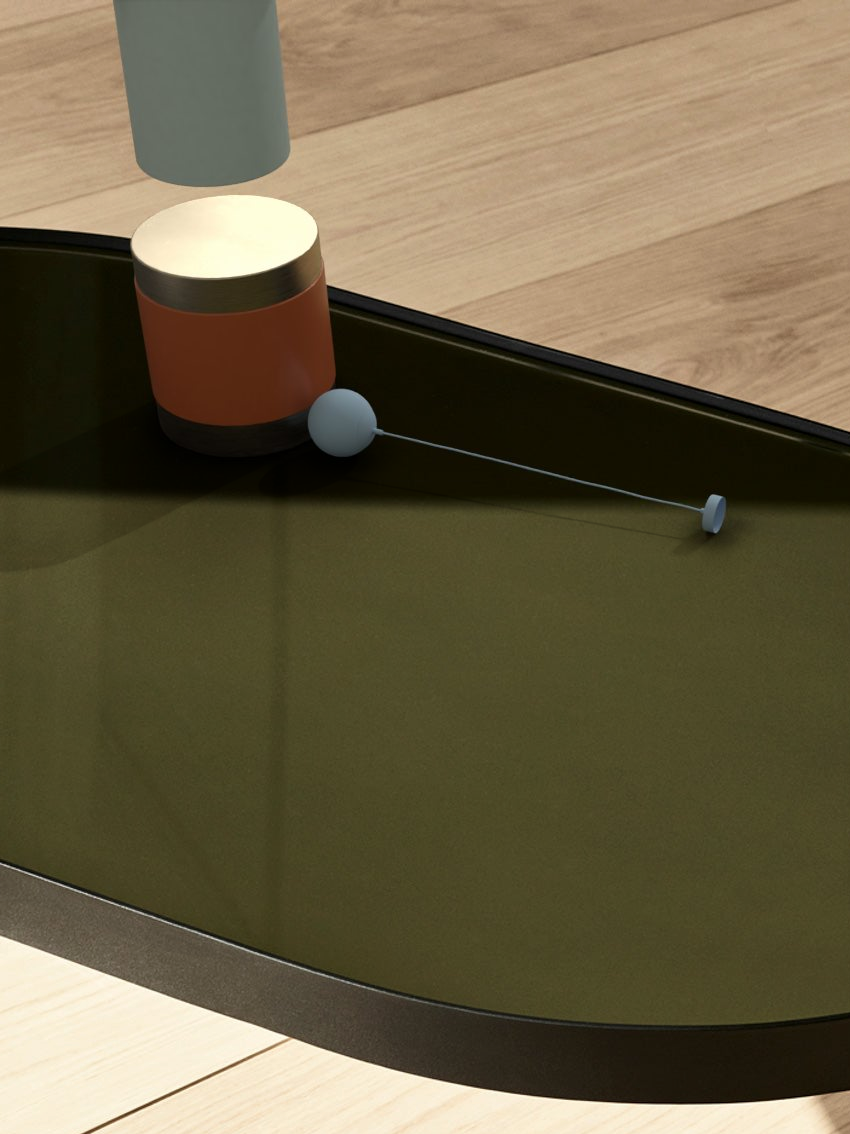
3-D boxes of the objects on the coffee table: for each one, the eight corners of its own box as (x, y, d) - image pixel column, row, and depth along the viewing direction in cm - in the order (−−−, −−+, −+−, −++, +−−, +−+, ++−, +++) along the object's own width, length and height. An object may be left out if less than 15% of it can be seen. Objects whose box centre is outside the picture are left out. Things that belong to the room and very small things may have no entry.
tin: (128, 400, 110) (97, 224, 105) (289, 350, 114) (267, 178, 108) (205, 478, 105) (177, 297, 99) (371, 423, 108) (353, 245, 103)
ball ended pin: (702, 554, 100) (714, 485, 99) (292, 452, 105) (300, 385, 104) (723, 543, 102) (736, 476, 101) (323, 444, 108) (331, 379, 107)
